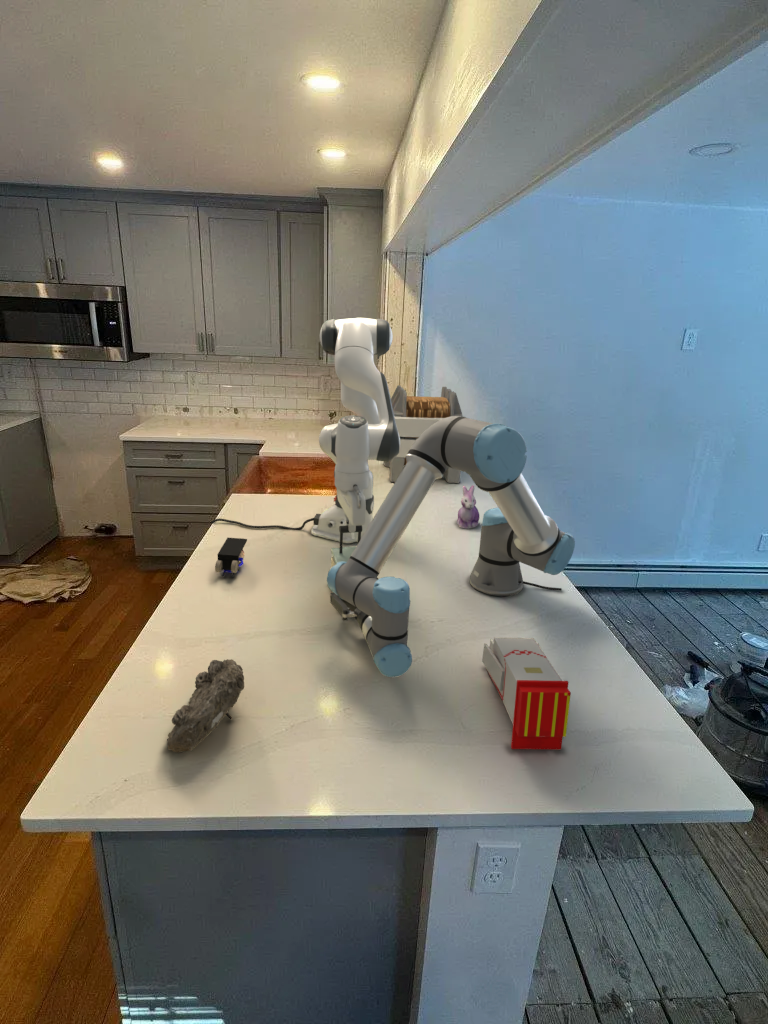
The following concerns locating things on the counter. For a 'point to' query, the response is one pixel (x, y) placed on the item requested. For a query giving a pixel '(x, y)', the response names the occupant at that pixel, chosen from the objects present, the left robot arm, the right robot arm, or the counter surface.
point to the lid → (344, 552)
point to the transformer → (420, 424)
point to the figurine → (468, 510)
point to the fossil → (206, 705)
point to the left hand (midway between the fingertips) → (350, 528)
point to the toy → (529, 692)
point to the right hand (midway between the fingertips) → (356, 581)
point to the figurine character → (230, 556)
